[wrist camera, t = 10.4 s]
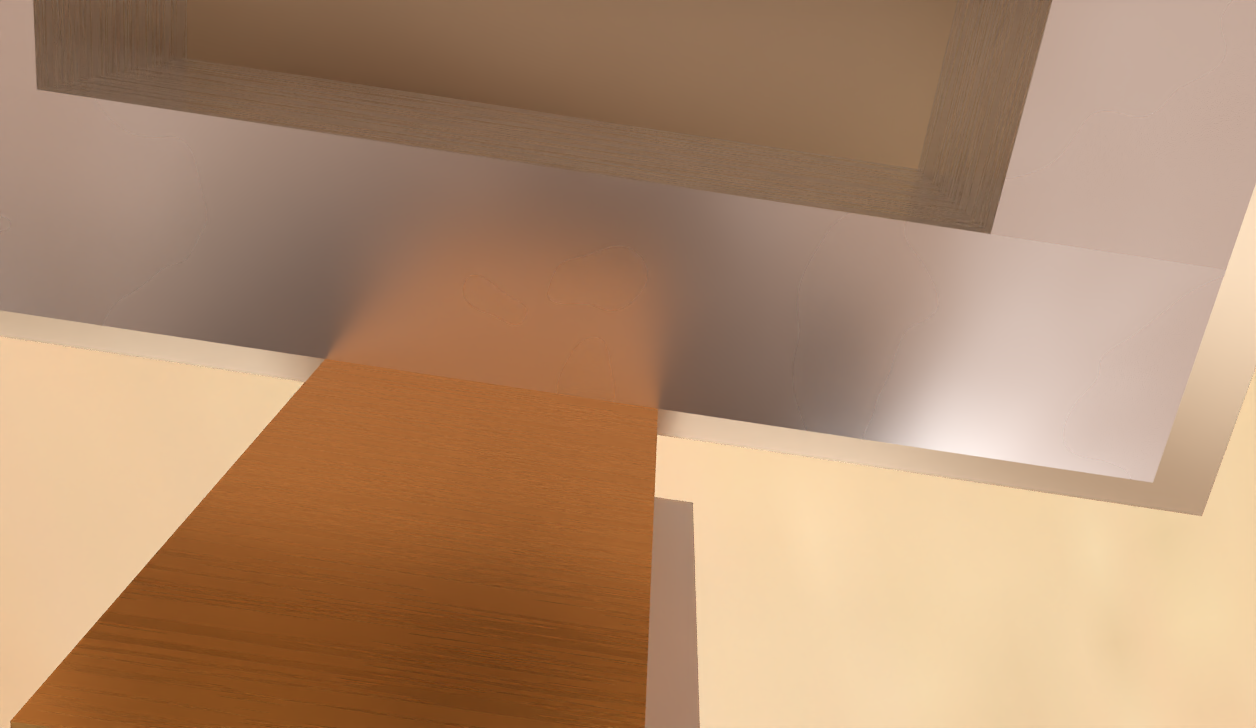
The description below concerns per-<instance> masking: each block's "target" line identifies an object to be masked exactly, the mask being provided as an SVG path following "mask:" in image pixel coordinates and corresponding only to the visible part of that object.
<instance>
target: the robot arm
mask: <svg viewBox="0 0 1256 728" xmlns="http://www.w3.org/2000/svg"><path fill="white" fill-rule="evenodd" d="M645 728H700V723H699V690H698V657H697V624H696V592H695V559H694V526H693V503H691V502H684V501H677V500H671V499H664V498H657V497H654V517H653V541H652V566H651V590H650V614H649V639H648V663H647V688H646V712H645Z"/></svg>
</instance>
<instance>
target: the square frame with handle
mask: <svg viewBox="0 0 1256 728" xmlns="http://www.w3.org/2000/svg"><path fill="white" fill-rule="evenodd" d="M1255 185H1256V0H957V4H956V9H955V13H954V17H953V21H952V25H951V30H950V34H949V38H948V42H947V47H946V51H945V55H944V59H943V64H942V68H941V72H940V76H939V81H938V85H937V89H936V93H935V97H934V102H933V106H932V110H931V114H930V119H929V123H928V127H927V131H926V136H925V140H924V144H923V148H922V153H921V157H920V161H919V165H918V169H913V168H907V167H900V166H894V165H887V164H880V163H874V162H867V161H861V160H854V159H848V158H841V157H835V156H828V155H821V154H815V153H808V152H802V151H795V150H789V149H782V148H775V147H769V146H762V145H756V144H749V143H743V142H736V141H729V140H723V139H716V138H710V137H703V136H697V135H690V134H683V133H677V132H670V131H664V130H657V129H651V128H644V127H637V126H631V125H624V124H618V123H611V122H605V121H598V120H591V119H585V118H578V117H572V116H565V115H559V114H552V113H546V112H539V111H532V110H526V109H519V108H513V107H506V106H500V105H493V104H486V103H480V102H473V101H467V100H460V99H454V98H447V97H440V96H434V95H427V94H421V93H414V92H408V91H401V90H394V89H388V88H381V87H375V86H368V85H362V84H355V83H348V82H342V81H335V80H329V79H322V78H316V77H309V76H302V75H296V74H289V73H283V72H276V71H270V70H263V69H257V68H250V67H243V66H237V65H230V64H224V63H217V62H211V61H204V60H197V59H191V58H187V0H0V310H1V311H7V312H14V313H21V314H27V315H34V316H41V317H47V318H54V319H61V320H67V321H74V322H81V323H88V324H94V325H101V326H108V327H114V328H121V329H128V330H134V331H141V332H148V333H155V334H161V335H168V336H175V337H181V338H188V339H195V340H201V341H208V342H215V343H221V344H228V345H235V346H242V347H248V348H255V349H262V350H268V351H275V352H282V353H288V354H295V355H302V356H308V357H315V358H322V359H325V360H324V361H323V362H322V363H321V364H320V366H319V367H318V368H317V369H316V370H315V371H314V372H313V374H312V375H311V376H310V377H309V378H308V379H307V380H306V382H305V383H304V384H303V385H302V386H301V387H300V389H299V390H298V391H297V392H296V393H295V394H294V395H293V397H292V398H291V399H290V400H289V401H288V402H287V404H286V405H285V406H284V407H283V408H282V409H281V410H280V412H279V413H278V414H277V415H276V416H275V417H274V418H273V420H272V421H271V422H270V423H269V424H268V425H267V427H266V428H265V429H264V430H263V431H262V432H261V433H260V435H259V436H258V437H257V438H256V439H255V440H254V441H253V443H252V444H251V445H250V446H249V447H248V448H247V450H246V451H245V452H244V453H243V454H242V455H241V456H240V458H239V459H238V460H237V461H236V462H235V463H234V465H233V466H232V467H231V468H230V469H229V470H228V471H227V473H226V474H225V475H224V476H223V477H222V478H221V479H220V481H219V482H218V483H217V484H216V485H215V486H214V488H213V489H212V490H211V491H210V492H209V493H208V494H207V496H206V497H205V498H204V499H203V500H202V501H201V503H200V504H199V505H198V506H197V507H196V508H195V509H194V511H193V512H192V513H191V514H190V515H189V516H188V517H187V519H186V520H185V521H184V522H183V523H182V524H181V526H180V527H179V528H178V529H177V530H176V531H175V532H174V534H173V535H172V536H171V537H170V538H169V539H168V540H167V542H166V543H165V544H164V545H163V546H162V547H161V549H160V550H159V551H158V552H157V553H156V554H155V555H154V557H153V558H152V559H151V560H150V561H149V562H148V564H147V565H146V566H145V567H144V568H143V569H142V570H141V572H140V573H139V574H138V575H137V576H136V577H135V578H134V580H133V581H132V582H131V583H130V584H129V585H128V587H127V588H126V589H125V590H124V591H123V592H122V593H121V595H120V596H119V597H118V598H117V599H116V600H115V602H114V603H113V604H112V605H111V606H110V607H109V608H108V610H107V611H106V612H105V613H104V614H103V615H102V616H101V618H100V619H99V620H98V621H97V622H96V623H95V625H94V626H93V627H92V628H91V629H90V630H89V631H88V633H87V634H86V635H85V636H84V637H83V638H82V639H81V641H80V642H79V643H78V644H77V645H76V646H75V648H74V649H73V650H72V651H71V652H70V653H69V654H68V656H67V657H66V658H65V659H64V660H63V661H62V663H61V664H60V665H59V666H58V667H57V668H56V669H55V671H54V672H53V673H52V674H51V675H50V676H49V677H48V679H47V680H46V681H45V682H44V683H43V684H42V686H41V687H40V688H39V689H38V690H37V691H36V692H35V694H34V695H33V696H32V697H31V698H30V699H29V701H28V702H27V703H26V704H25V705H24V706H23V707H22V709H21V710H20V711H19V712H18V713H17V714H16V715H15V717H14V718H13V719H12V720H11V721H10V723H11V728H645V712H646V688H647V663H648V639H649V614H650V590H651V566H652V541H653V517H654V493H655V468H656V444H657V419H658V409H663V410H670V411H677V412H683V413H690V414H697V415H703V416H710V417H717V418H724V419H730V420H737V421H744V422H750V423H757V424H764V425H770V426H777V427H784V428H791V429H797V430H804V431H811V432H817V433H824V434H831V435H837V436H844V437H851V438H857V439H864V440H871V441H878V442H884V443H891V444H898V445H904V446H911V447H918V448H924V449H931V450H938V451H944V452H951V453H958V454H965V455H971V456H978V457H985V458H991V459H998V460H1005V461H1011V462H1018V463H1025V464H1032V465H1038V466H1045V467H1052V468H1058V469H1065V470H1072V471H1078V472H1085V473H1092V474H1098V475H1105V476H1112V477H1119V478H1125V479H1132V480H1139V481H1145V482H1152V483H1153V481H1154V478H1155V475H1156V472H1157V469H1158V466H1159V463H1160V460H1161V457H1162V455H1163V452H1164V449H1165V446H1166V443H1167V440H1168V437H1169V434H1170V431H1171V428H1172V426H1173V423H1174V420H1175V417H1176V414H1177V411H1178V408H1179V405H1180V402H1181V399H1182V396H1183V394H1184V391H1185V388H1186V385H1187V382H1188V379H1189V376H1190V373H1191V370H1192V367H1193V365H1194V362H1195V359H1196V356H1197V353H1198V350H1199V347H1200V344H1201V341H1202V338H1203V336H1204V333H1205V330H1206V327H1207V324H1208V321H1209V318H1210V315H1211V312H1212V309H1213V306H1214V304H1215V301H1216V298H1217V295H1218V292H1219V289H1220V286H1221V283H1222V280H1223V277H1224V275H1225V272H1226V269H1227V266H1228V263H1229V260H1230V257H1231V254H1232V251H1233V248H1234V245H1235V243H1236V240H1237V237H1238V234H1239V231H1240V228H1241V225H1242V222H1243V219H1244V216H1245V214H1246V211H1247V208H1248V205H1249V202H1250V199H1251V196H1252V193H1253V190H1254V187H1255Z"/></svg>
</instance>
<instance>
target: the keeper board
mask: <svg viewBox="0 0 1256 728" xmlns="http://www.w3.org/2000/svg"><path fill="white" fill-rule="evenodd" d="M956 4H957V0H187V58H191V59H197V60H204V61H211V62H217V63H224V64H230V65H237V66H243V67H250V68H257V69H263V70H270V71H276V72H283V73H289V74H296V75H302V76H309V77H316V78H322V79H329V80H335V81H342V82H348V83H355V84H362V85H368V86H375V87H381V88H388V89H394V90H401V91H408V92H414V93H421V94H427V95H434V96H440V97H447V98H454V99H460V100H467V101H473V102H480V103H486V104H493V105H500V106H506V107H513V108H519V109H526V110H532V111H539V112H546V113H552V114H559V115H565V116H572V117H578V118H585V119H591V120H598V121H605V122H611V123H618V124H624V125H631V126H637V127H644V128H651V129H657V130H664V131H670V132H677V133H683V134H690V135H697V136H703V137H710V138H716V139H723V140H729V141H736V142H743V143H749V144H756V145H762V146H769V147H775V148H782V149H789V150H795V151H802V152H808V153H815V154H821V155H828V156H835V157H841V158H848V159H854V160H861V161H867V162H874V163H880V164H887V165H894V166H900V167H907V168H913V169H918V165H919V161H920V157H921V153H922V148H923V144H924V140H925V136H926V131H927V127H928V123H929V119H930V114H931V110H932V106H933V102H934V97H935V93H936V89H937V85H938V81H939V76H940V72H941V68H942V64H943V59H944V55H945V51H946V47H947V42H948V38H949V34H950V30H951V25H952V21H953V17H954V13H955V9H956ZM0 337H7V338H14V339H20V340H27V341H34V342H41V343H47V344H54V345H61V346H67V347H74V348H81V349H87V350H94V351H101V352H107V353H114V354H121V355H127V356H134V357H141V358H148V359H154V360H161V361H168V362H174V363H181V364H188V365H194V366H201V367H208V368H214V369H221V370H228V371H235V372H241V373H248V374H255V375H261V376H268V377H275V378H281V379H288V380H295V381H301V382H306V380H307V379H308V378H309V377H310V376H311V375H312V374H313V372H314V371H315V370H316V369H317V368H318V367H319V366H320V364H321V363H322V362H323V361H324V360H325V359H322V358H315V357H308V356H302V355H295V354H288V353H282V352H275V351H268V350H262V349H255V348H248V347H242V346H235V345H228V344H221V343H215V342H208V341H201V340H195V339H188V338H181V337H175V336H168V335H161V334H155V333H148V332H141V331H134V330H128V329H121V328H114V327H108V326H101V325H94V324H88V323H81V322H74V321H67V320H61V319H54V318H47V317H41V316H34V315H27V314H21V313H14V312H7V311H1V310H0ZM1255 368H1256V185H1255V187H1254V190H1253V193H1252V196H1251V199H1250V202H1249V205H1248V208H1247V211H1246V214H1245V216H1244V219H1243V222H1242V225H1241V228H1240V231H1239V234H1238V237H1237V240H1236V243H1235V245H1234V248H1233V251H1232V254H1231V257H1230V260H1229V263H1228V266H1227V269H1226V272H1225V275H1224V277H1223V280H1222V283H1221V286H1220V289H1219V292H1218V295H1217V298H1216V301H1215V304H1214V306H1213V309H1212V312H1211V315H1210V318H1209V321H1208V324H1207V327H1206V330H1205V333H1204V336H1203V338H1202V341H1201V344H1200V347H1199V350H1198V353H1197V356H1196V359H1195V362H1194V365H1193V367H1192V370H1191V373H1190V376H1189V379H1188V382H1187V385H1186V388H1185V391H1184V394H1183V396H1182V399H1181V402H1180V405H1179V408H1178V411H1177V414H1176V417H1175V420H1174V423H1173V426H1172V428H1171V431H1170V434H1169V437H1168V440H1167V443H1166V446H1165V449H1164V452H1163V455H1162V457H1161V460H1160V463H1159V466H1158V469H1157V472H1156V475H1155V478H1154V481H1153V483H1152V482H1145V481H1139V480H1132V479H1125V478H1119V477H1112V476H1105V475H1098V474H1092V473H1085V472H1078V471H1072V470H1065V469H1058V468H1052V467H1045V466H1038V465H1032V464H1025V463H1018V462H1011V461H1005V460H998V459H991V458H985V457H978V456H971V455H965V454H958V453H951V452H944V451H938V450H931V449H924V448H918V447H911V446H904V445H898V444H891V443H884V442H878V441H871V440H864V439H857V438H851V437H844V436H837V435H831V434H824V433H817V432H811V431H804V430H797V429H791V428H784V427H777V426H770V425H764V424H757V423H750V422H744V421H737V420H730V419H724V418H717V417H710V416H703V415H697V414H690V413H683V412H677V411H670V410H663V409H658V419H657V435H663V436H669V437H676V438H683V439H690V440H696V441H703V442H710V443H716V444H723V445H730V446H736V447H743V448H750V449H756V450H763V451H770V452H777V453H783V454H790V455H797V456H803V457H810V458H817V459H823V460H830V461H837V462H843V463H850V464H857V465H864V466H870V467H877V468H884V469H890V470H897V471H904V472H910V473H917V474H924V475H930V476H937V477H944V478H951V479H957V480H964V481H971V482H977V483H984V484H991V485H997V486H1004V487H1011V488H1017V489H1024V490H1031V491H1038V492H1044V493H1051V494H1058V495H1064V496H1071V497H1078V498H1084V499H1091V500H1098V501H1104V502H1111V503H1118V504H1124V505H1131V506H1138V507H1145V508H1151V509H1158V510H1165V511H1171V512H1178V513H1185V514H1191V515H1198V516H1202V514H1203V511H1204V509H1205V506H1206V503H1207V500H1208V498H1209V495H1210V492H1211V489H1212V487H1213V484H1214V481H1215V478H1216V476H1217V473H1218V470H1219V467H1220V465H1221V462H1222V459H1223V456H1224V454H1225V451H1226V448H1227V445H1228V443H1229V440H1230V437H1231V434H1232V432H1233V429H1234V426H1235V423H1236V421H1237V418H1238V415H1239V412H1240V410H1241V407H1242V404H1243V401H1244V399H1245V396H1246V393H1247V390H1248V388H1249V385H1250V382H1251V379H1252V377H1253V374H1254V371H1255Z"/></svg>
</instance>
